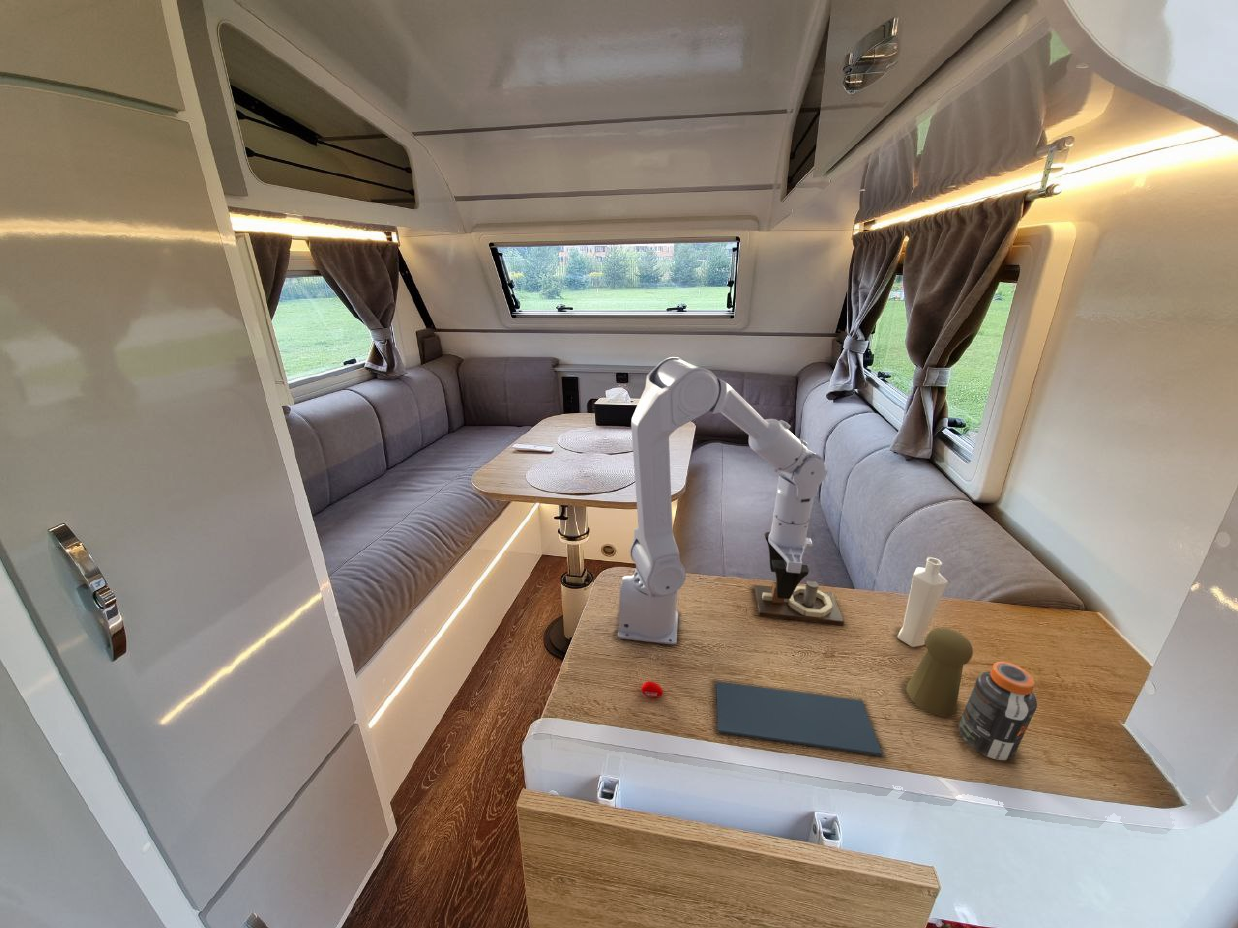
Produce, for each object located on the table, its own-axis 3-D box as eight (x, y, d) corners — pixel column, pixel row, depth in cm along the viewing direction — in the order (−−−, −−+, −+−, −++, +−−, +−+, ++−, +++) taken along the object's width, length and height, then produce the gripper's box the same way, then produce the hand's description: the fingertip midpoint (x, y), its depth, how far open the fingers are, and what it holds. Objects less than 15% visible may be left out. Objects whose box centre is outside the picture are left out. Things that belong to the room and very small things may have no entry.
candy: (640, 699, 66) (641, 689, 65) (642, 687, 68) (642, 677, 67) (662, 701, 65) (663, 691, 65) (662, 690, 67) (663, 679, 67)
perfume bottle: (896, 644, 76) (919, 565, 71) (893, 626, 80) (915, 551, 75) (929, 652, 75) (955, 572, 69) (924, 634, 79) (948, 557, 73)
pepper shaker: (941, 682, 69) (963, 622, 65) (965, 718, 64) (990, 654, 60) (898, 678, 70) (917, 618, 66) (918, 713, 64) (940, 650, 60)
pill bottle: (1017, 771, 57) (1050, 701, 53) (958, 746, 60) (985, 678, 56) (1011, 733, 62) (1041, 667, 57) (956, 712, 65) (981, 647, 60)
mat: (718, 732, 61) (718, 730, 61) (715, 683, 69) (716, 681, 68) (882, 756, 59) (882, 753, 58) (861, 702, 66) (862, 700, 66)
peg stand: (759, 615, 82) (762, 592, 80) (754, 587, 90) (757, 565, 88) (843, 625, 80) (849, 601, 79) (831, 595, 88) (836, 573, 86)
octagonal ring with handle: (824, 592, 87) (828, 578, 86) (835, 619, 81) (839, 603, 79) (759, 586, 89) (762, 571, 88) (765, 611, 82) (767, 596, 81)
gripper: (827, 540, 72) (812, 613, 77) (806, 499, 85) (795, 563, 90) (779, 536, 73) (767, 608, 78) (766, 496, 86) (757, 559, 91)
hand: (779, 583), depth 84 cm, fingers open, 7 cm apart
